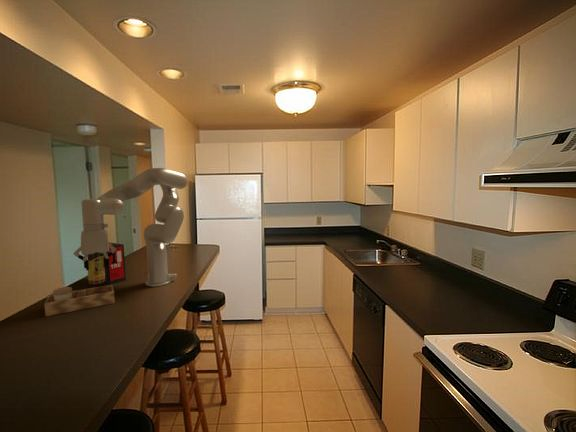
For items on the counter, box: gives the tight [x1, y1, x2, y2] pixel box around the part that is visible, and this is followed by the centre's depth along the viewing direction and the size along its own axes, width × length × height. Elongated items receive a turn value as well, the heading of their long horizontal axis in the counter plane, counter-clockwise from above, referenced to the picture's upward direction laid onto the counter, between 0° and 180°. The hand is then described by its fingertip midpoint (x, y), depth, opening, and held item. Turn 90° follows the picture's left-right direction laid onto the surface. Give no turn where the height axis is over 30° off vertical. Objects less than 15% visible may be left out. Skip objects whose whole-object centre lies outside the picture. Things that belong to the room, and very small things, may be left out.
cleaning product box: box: [102, 242, 127, 286], centre depth 161 cm, size 16×9×20 cm, turn 63°
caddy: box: [44, 284, 116, 317], centre depth 127 cm, size 24×11×6 cm, turn 123°
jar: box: [52, 286, 73, 302], centre depth 124 cm, size 6×6×8 cm
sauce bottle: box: [87, 252, 105, 285], centre depth 129 cm, size 7×6×20 cm
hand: (96, 268), depth 129 cm, fingers closed on sauce bottle, 6 cm apart
